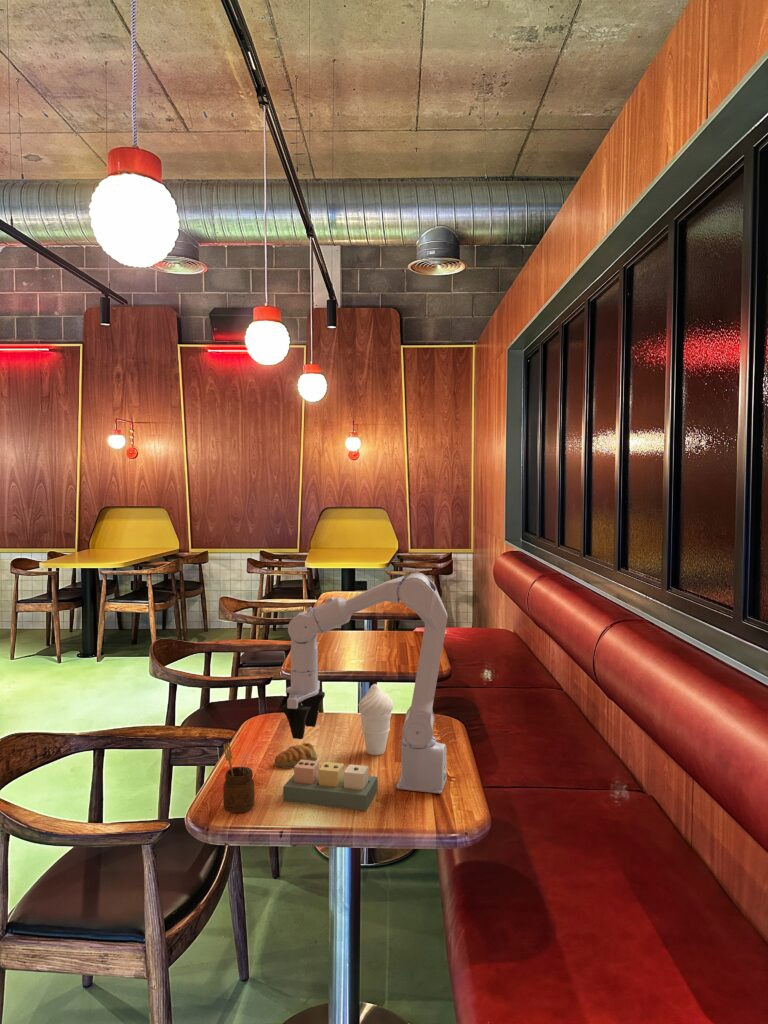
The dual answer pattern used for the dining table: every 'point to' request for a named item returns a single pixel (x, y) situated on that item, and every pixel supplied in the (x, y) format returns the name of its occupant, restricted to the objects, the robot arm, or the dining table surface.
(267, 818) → the dining table surface
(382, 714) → the soft serve ice cream cone
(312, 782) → the toy block
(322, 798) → the toy block sorting board
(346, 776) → the toy block
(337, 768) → the toy block
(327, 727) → the dining table surface
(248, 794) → the utensil holder
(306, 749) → the pastry
